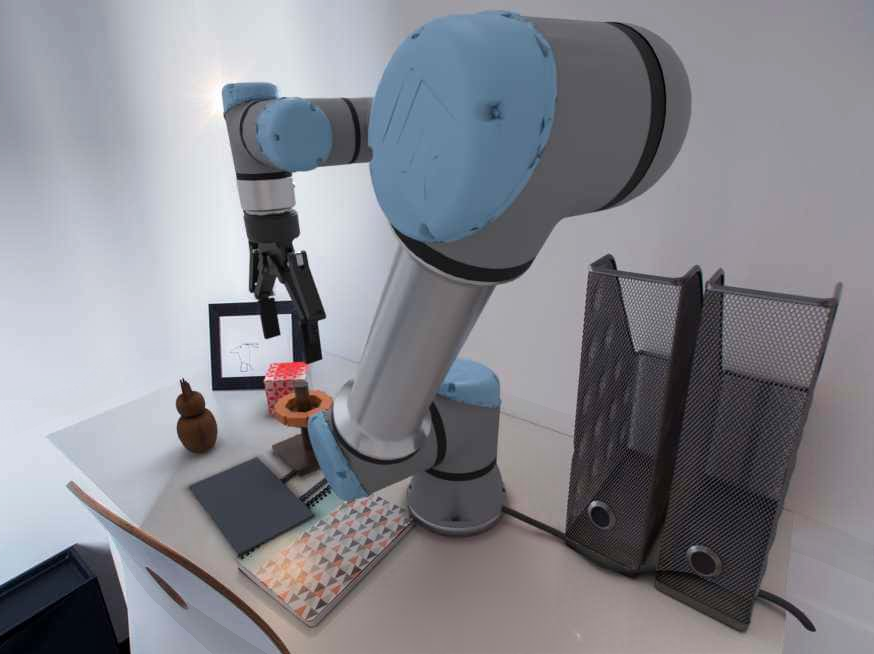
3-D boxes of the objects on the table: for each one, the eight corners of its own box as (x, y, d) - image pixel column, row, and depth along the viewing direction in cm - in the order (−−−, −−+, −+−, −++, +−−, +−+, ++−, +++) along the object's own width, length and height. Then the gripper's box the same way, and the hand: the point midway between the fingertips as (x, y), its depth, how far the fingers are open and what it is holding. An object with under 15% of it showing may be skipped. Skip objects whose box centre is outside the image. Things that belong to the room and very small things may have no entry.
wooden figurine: (207, 460, 93) (186, 385, 86) (177, 457, 94) (155, 382, 87) (226, 439, 99) (208, 367, 92) (198, 436, 100) (179, 365, 93)
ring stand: (350, 454, 94) (342, 384, 87) (300, 477, 88) (287, 405, 81) (321, 431, 101) (311, 365, 94) (272, 452, 95) (259, 383, 88)
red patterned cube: (277, 396, 113) (271, 363, 109) (314, 394, 113) (309, 361, 110) (270, 415, 106) (263, 381, 102) (309, 413, 107) (304, 378, 103)
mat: (315, 516, 80) (314, 514, 80) (239, 555, 73) (239, 553, 73) (257, 458, 93) (256, 456, 93) (189, 487, 87) (188, 485, 87)
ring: (343, 413, 90) (342, 403, 89) (293, 433, 84) (292, 424, 84) (315, 393, 96) (313, 384, 95) (267, 411, 91) (265, 402, 90)
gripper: (340, 217, 68) (355, 365, 79) (256, 198, 85) (277, 322, 95) (288, 225, 64) (311, 381, 74) (210, 204, 81) (237, 333, 91)
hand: (292, 348), depth 85 cm, fingers open, 13 cm apart
